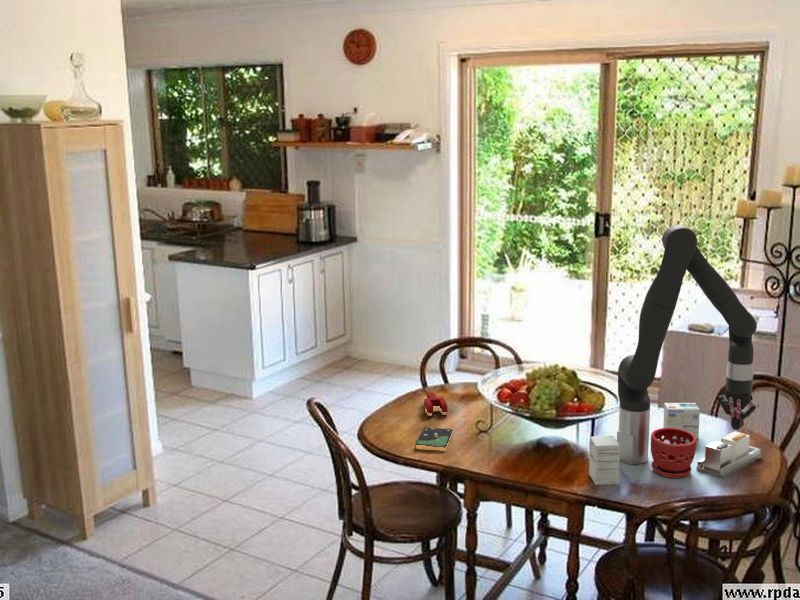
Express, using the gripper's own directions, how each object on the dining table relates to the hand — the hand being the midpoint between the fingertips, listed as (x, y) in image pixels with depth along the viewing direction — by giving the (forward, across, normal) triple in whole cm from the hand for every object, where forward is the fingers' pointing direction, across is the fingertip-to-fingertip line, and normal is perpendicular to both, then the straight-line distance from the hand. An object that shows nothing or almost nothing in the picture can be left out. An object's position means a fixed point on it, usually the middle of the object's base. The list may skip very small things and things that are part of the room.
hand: (736, 428), depth 259 cm
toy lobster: (+10, -98, -37) cm, 106 cm away
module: (+10, 0, 0) cm, 10 cm away
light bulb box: (+11, -22, +6) cm, 26 cm away
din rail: (+10, 0, -3) cm, 11 cm away
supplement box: (+10, -20, -40) cm, 46 cm away
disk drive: (+11, -76, -57) cm, 96 cm away
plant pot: (+11, -9, -21) cm, 25 cm away
